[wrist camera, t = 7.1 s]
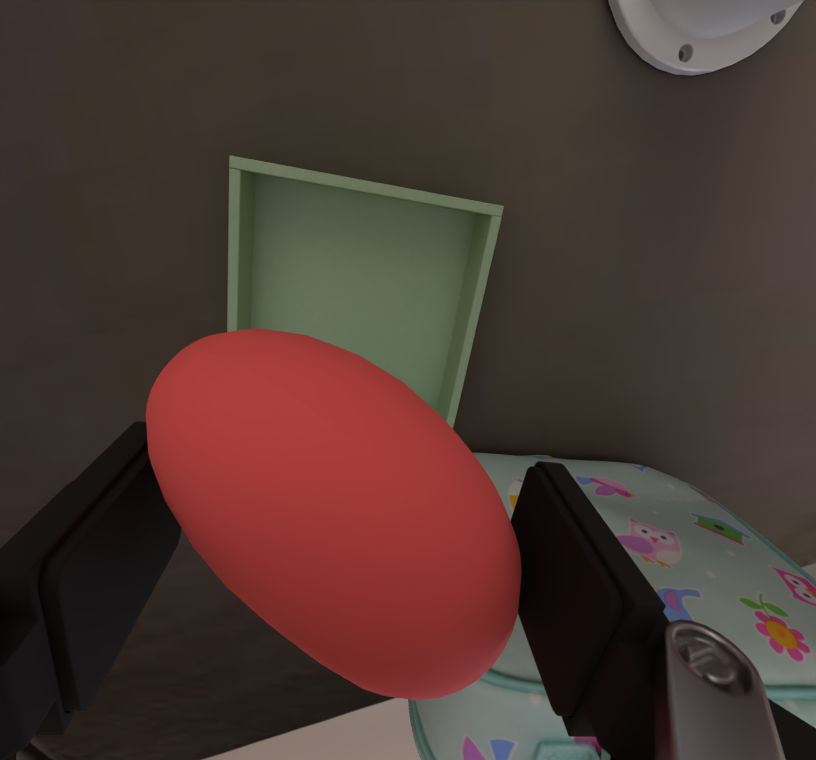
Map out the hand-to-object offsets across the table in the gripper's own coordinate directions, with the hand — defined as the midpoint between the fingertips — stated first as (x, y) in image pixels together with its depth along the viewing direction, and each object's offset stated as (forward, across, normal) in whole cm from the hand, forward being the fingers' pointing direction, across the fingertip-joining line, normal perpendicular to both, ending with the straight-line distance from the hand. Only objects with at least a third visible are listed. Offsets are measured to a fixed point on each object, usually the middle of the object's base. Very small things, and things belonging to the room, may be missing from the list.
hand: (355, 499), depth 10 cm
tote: (+22, 0, 0) cm, 22 cm away
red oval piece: (+1, 0, 0) cm, 1 cm away
